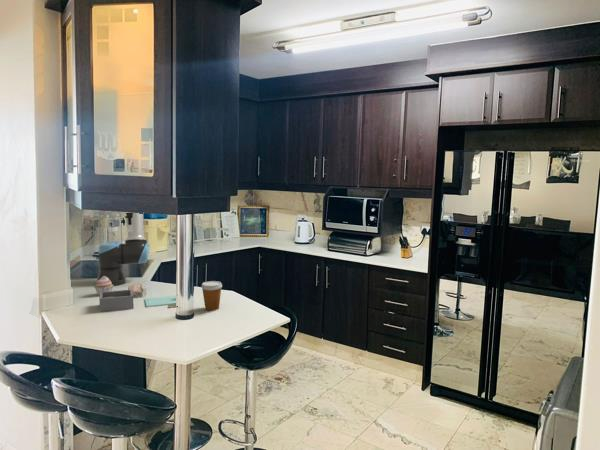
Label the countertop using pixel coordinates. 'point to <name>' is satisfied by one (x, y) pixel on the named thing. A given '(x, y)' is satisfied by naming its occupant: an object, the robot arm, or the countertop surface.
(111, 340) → the countertop surface
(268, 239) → the countertop surface
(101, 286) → the cupcake
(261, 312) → the countertop surface
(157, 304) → the lid
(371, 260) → the countertop surface
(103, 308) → the tub
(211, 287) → the disposable coffee cup
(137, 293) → the packaged product
